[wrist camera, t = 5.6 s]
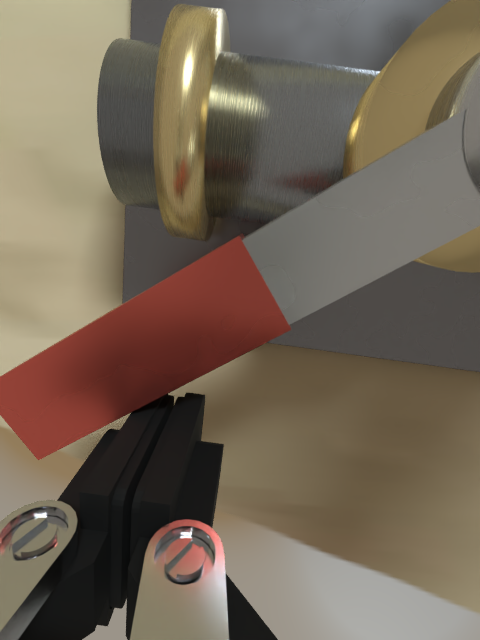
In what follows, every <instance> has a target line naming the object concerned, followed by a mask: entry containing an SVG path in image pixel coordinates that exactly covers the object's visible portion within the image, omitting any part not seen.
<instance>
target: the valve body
mask: <svg viewBox="0 0 480 640" xmlns="http://www.w3.org/2000/svg"><path fill="white" fill-rule="evenodd" d="M479 52H480V0H132V4H131V38H130V39H122V38H119V39H116V40H115V41H113V42H112V43H111V45H110V46H109V48H108V50H107V52H106V54H105V57H104V60H103V63H102V67H101V71H100V78H99V85H98V98H97V122H98V136H99V144H100V150H101V156H102V161H103V165H104V170H105V173H106V176H107V179H108V182H109V184H110V187H111V189H112V191H113V193H114V194H115V196H116V197H117V199H118V200H119V201H120V202H121V203H123V204H125V205H126V207H125V241H124V274H123V303H125V302H127V301H128V300H130V299H132V298H133V297H135V296H137V295H139V294H140V293H142V292H144V291H145V290H147V289H149V288H150V287H152V286H154V285H155V284H157V283H159V282H161V281H162V280H164V279H166V278H167V277H169V276H171V275H172V274H174V273H176V272H177V271H179V270H181V269H183V268H184V267H186V266H188V265H189V264H191V263H193V262H194V261H196V260H198V259H200V258H201V257H203V256H205V255H206V254H208V253H210V252H211V251H213V250H215V249H216V248H218V247H220V246H222V245H223V244H225V243H227V242H228V241H230V240H232V239H233V238H235V237H237V236H238V235H240V234H242V233H243V235H244V237H245V236H247V235H249V234H250V233H252V232H254V231H255V230H257V229H259V228H261V227H262V226H264V225H266V224H267V223H269V222H271V221H273V220H274V219H276V218H278V217H279V216H281V215H283V214H284V213H286V212H288V211H290V210H291V209H293V208H295V207H296V206H298V205H300V204H301V203H303V202H305V201H307V200H308V199H310V198H312V197H313V196H315V195H317V194H318V193H320V192H322V191H324V190H325V189H327V188H329V187H330V186H332V185H334V184H335V183H337V182H339V181H341V180H342V179H344V178H346V177H347V176H349V175H351V174H352V173H354V172H356V171H358V170H359V169H361V168H363V167H364V166H366V165H368V164H370V163H371V162H373V161H375V160H376V159H378V158H380V157H381V156H383V155H385V154H387V153H388V152H390V151H392V150H393V149H395V148H397V147H398V146H400V145H402V144H404V143H405V142H407V141H409V140H410V139H412V138H414V137H415V136H417V135H419V134H421V133H422V132H424V131H425V128H426V124H427V121H428V117H429V114H430V112H431V109H432V107H433V105H434V103H435V101H436V99H437V97H438V95H439V94H440V92H441V90H442V89H443V87H444V86H445V85H446V83H447V82H448V81H449V79H450V78H451V77H452V76H453V75H454V74H455V72H456V71H457V70H458V69H459V68H460V67H461V66H463V65H464V64H465V63H466V62H467V61H468V60H469V59H471V58H472V57H473V56H475V55H476V54H477V53H479ZM290 327H291V330H290V331H288V332H286V333H284V334H282V335H280V336H278V337H276V338H274V339H272V340H270V341H268V342H266V343H273V344H280V345H288V346H295V347H302V348H309V349H317V350H324V351H331V352H338V353H346V354H353V355H360V356H368V357H375V358H382V359H389V360H397V361H404V362H411V363H418V364H426V365H433V366H440V367H448V368H455V369H462V370H469V371H477V372H480V226H478V227H477V228H475V229H473V230H471V231H469V232H467V233H465V234H463V235H461V236H459V237H457V238H455V239H453V240H452V241H450V242H448V243H446V244H444V245H442V246H440V247H438V248H436V249H434V250H432V251H430V252H428V253H427V254H425V255H423V256H421V257H419V258H417V259H415V260H413V261H411V262H409V263H407V264H405V265H403V266H401V267H400V268H398V269H396V270H394V271H392V272H390V273H388V274H386V275H384V276H382V277H380V278H378V279H376V280H375V281H373V282H371V283H369V284H367V285H365V286H363V287H361V288H359V289H357V290H355V291H353V292H351V293H350V294H348V295H346V296H344V297H342V298H340V299H338V300H336V301H334V302H332V303H330V304H328V305H326V306H324V307H323V308H321V309H319V310H317V311H315V312H313V313H311V314H309V315H307V316H305V317H303V318H301V319H299V320H298V321H296V322H294V323H292V324H290Z"/></svg>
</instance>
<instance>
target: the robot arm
mask: <svg viewBox="0 0 480 640" xmlns="http://www.w3.org/2000/svg"><path fill="white" fill-rule="evenodd" d="M204 405H205V395H201V394H194V393H186V394H185V397H178V398H177V400H176V403H175V405H174V396H171V395H168V394H166V395H164V396H162V397H160V398H158V399H156V400H154V401H152V402H150V403H148V404H146V405H144V406H142V407H140V408H139V409H137V410H135V411H133V412H132V413H131V414H130V416H129V417H128V419H127V420H126V422H125V423H124V425H123V426H122V428H121V429H120V430H115V429H109V430H108V431H107V432H106V433H105V434H104V436H103V437H102V439H101V440H100V441H99V443H98V444H97V446H96V447H95V448H94V450H93V451H92V452H91V454H90V455H89V457H88V458H87V459H86V461H85V462H84V464H83V465H82V466H81V468H80V469H79V471H78V472H77V474H76V475H75V476H74V478H73V479H72V480H71V482H70V483H69V485H68V486H67V488H66V489H65V490H64V492H63V493H62V495H61V496H60V498H59V499H58V500H57V501H55V500H46V501H38V502H34V503H31V504H28V505H25V506H23V507H21V508H19V509H17V510H16V511H14V512H12V513H11V514H9V515H8V516H7V517H6V518H4V519H3V520H2V521H1V522H0V640H82V639H83V638H85V637H86V636H88V635H89V634H91V633H92V632H94V631H95V628H96V626H97V625H103V626H108V624H109V621H110V619H111V616H112V613H113V610H114V608H123V606H124V603H125V601H126V598H127V616H126V637H127V639H128V640H278V639H277V638H276V637H275V635H274V634H273V633H272V632H271V630H270V629H269V628H268V627H267V625H266V624H265V623H264V621H263V620H262V619H261V618H260V616H259V615H258V614H257V612H256V611H255V610H254V609H253V607H252V606H251V605H250V604H249V602H248V601H247V600H246V598H245V597H244V596H243V595H242V593H241V592H240V591H239V590H238V588H237V587H236V586H235V585H234V583H233V582H232V581H231V580H230V578H229V577H228V576H227V574H226V573H225V555H224V549H223V544H222V541H221V540H220V538H219V536H218V534H217V533H216V532H215V531H214V530H213V529H212V526H213V519H214V513H215V506H216V500H217V493H218V486H219V479H220V471H221V463H222V455H223V446H224V444H218V443H210V442H203V441H201V435H202V425H203V415H204Z"/></svg>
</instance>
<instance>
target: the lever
mask: <svg viewBox="0 0 480 640" xmlns="http://www.w3.org/2000/svg"><path fill="white" fill-rule="evenodd" d="M478 226H480V52H479V53H477V54H476V55H475V56H473V57H472V58H471V59H469V60H468V61H467V62H466V63H465V64H464V65H463V66H461V67H460V68H459V69H458V70H457V71H456V72H455V74H454V75H453V76H452V77H451V78H450V79H449V81H448V82H447V83H446V85H445V86H444V87H443V89H442V90H441V92H440V94H439V95H438V97H437V99H436V101H435V103H434V105H433V107H432V109H431V112H430V114H429V117H428V121H427V124H426V128H425V131H424V132H422V133H421V134H419V135H417V136H415V137H414V138H412V139H410V140H409V141H407V142H405V143H404V144H402V145H400V146H398V147H397V148H395V149H393V150H392V151H390V152H388V153H387V154H385V155H383V156H381V157H380V158H378V159H376V160H375V161H373V162H371V163H370V164H368V165H366V166H364V167H363V168H361V169H359V170H358V171H356V172H354V173H352V174H351V175H349V176H347V177H346V178H344V179H342V180H341V181H339V182H337V183H335V184H334V185H332V186H330V187H329V188H327V189H325V190H324V191H322V192H320V193H318V194H317V195H315V196H313V197H312V198H310V199H308V200H307V201H305V202H303V203H301V204H300V205H298V206H296V207H295V208H293V209H291V210H290V211H288V212H286V213H284V214H283V215H281V216H279V217H278V218H276V219H274V220H273V221H271V222H269V223H267V224H266V225H264V226H262V227H261V228H259V229H257V230H255V231H254V232H252V233H250V234H249V235H247V236H245V237H244V235H243V233H242V234H240V235H238V236H237V237H235V238H233V239H232V240H230V241H228V242H227V243H225V244H223V245H222V246H220V247H218V248H216V249H215V250H213V251H211V252H210V253H208V254H206V255H205V256H203V257H201V258H200V259H198V260H196V261H194V262H193V263H191V264H189V265H188V266H186V267H184V268H183V269H181V270H179V271H177V272H176V273H174V274H172V275H171V276H169V277H167V278H166V279H164V280H162V281H161V282H159V283H157V284H155V285H154V286H152V287H150V288H149V289H147V290H145V291H144V292H142V293H140V294H139V295H137V296H135V297H133V298H132V299H130V300H128V301H127V302H125V303H123V304H122V305H120V306H118V307H117V308H115V309H113V310H111V311H110V312H108V313H106V314H105V315H103V316H101V317H100V318H98V319H96V320H95V321H93V322H91V323H89V324H88V325H86V326H84V327H83V328H81V329H79V330H78V331H76V332H74V333H73V334H71V335H69V336H67V337H66V338H64V339H62V340H61V341H59V342H57V343H56V344H54V345H52V346H51V347H49V348H47V349H45V350H44V351H42V352H40V353H39V354H37V355H35V356H34V357H32V358H30V359H29V360H27V361H25V362H23V363H22V364H20V365H18V366H17V367H15V368H14V369H12V370H10V371H9V372H7V373H5V374H4V375H2V376H0V415H1V416H2V417H3V419H4V420H5V421H6V422H7V423H8V425H9V426H10V427H11V428H12V429H13V431H14V432H15V433H16V434H17V435H18V437H19V438H20V439H21V440H22V441H23V443H24V444H25V445H26V446H27V447H28V448H29V450H30V451H31V452H32V453H33V454H34V456H35V457H36V458H37V459H38V460H39V459H42V458H43V457H45V456H47V455H49V454H51V453H53V452H55V451H57V450H59V449H61V448H63V447H65V446H67V445H69V444H71V443H73V442H75V441H76V440H78V439H80V438H82V437H84V436H86V435H88V434H90V433H92V432H94V431H96V430H98V429H100V428H102V427H104V426H106V425H108V424H109V423H111V422H113V421H115V420H117V419H119V418H121V417H123V416H125V415H127V414H129V413H131V412H133V411H135V410H137V409H139V408H140V407H142V406H144V405H146V404H148V403H150V402H152V401H154V400H156V399H158V398H160V397H162V396H164V395H166V394H168V393H170V392H171V391H173V390H175V389H177V388H179V387H181V386H183V385H185V384H187V383H189V382H191V381H193V380H195V379H197V378H199V377H201V376H202V375H204V374H206V373H208V372H210V371H212V370H214V369H216V368H218V367H220V366H222V365H224V364H226V363H228V362H230V361H232V360H233V359H235V358H237V357H239V356H241V355H243V354H245V353H247V352H249V351H251V350H253V349H255V348H257V347H259V346H261V345H263V344H265V343H266V342H268V341H270V340H272V339H274V338H276V337H278V336H280V335H282V334H284V333H286V332H288V331H290V330H291V327H290V324H292V323H294V322H296V321H298V320H299V319H301V318H303V317H305V316H307V315H309V314H311V313H313V312H315V311H317V310H319V309H321V308H323V307H324V306H326V305H328V304H330V303H332V302H334V301H336V300H338V299H340V298H342V297H344V296H346V295H348V294H350V293H351V292H353V291H355V290H357V289H359V288H361V287H363V286H365V285H367V284H369V283H371V282H373V281H375V280H376V279H378V278H380V277H382V276H384V275H386V274H388V273H390V272H392V271H394V270H396V269H398V268H400V267H401V266H403V265H405V264H407V263H409V262H411V261H413V260H415V259H417V258H419V257H421V256H423V255H425V254H427V253H428V252H430V251H432V250H434V249H436V248H438V247H440V246H442V245H444V244H446V243H448V242H450V241H452V240H453V239H455V238H457V237H459V236H461V235H463V234H465V233H467V232H469V231H471V230H473V229H475V228H477V227H478Z"/></svg>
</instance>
